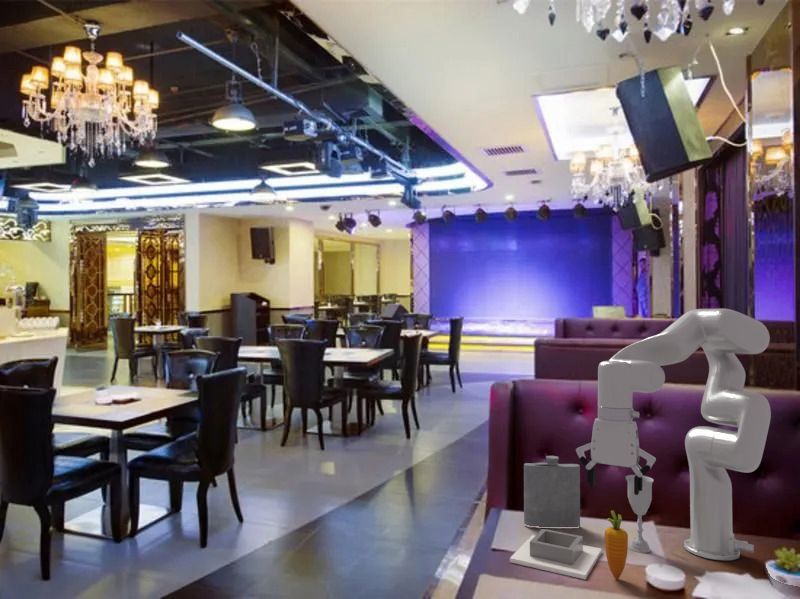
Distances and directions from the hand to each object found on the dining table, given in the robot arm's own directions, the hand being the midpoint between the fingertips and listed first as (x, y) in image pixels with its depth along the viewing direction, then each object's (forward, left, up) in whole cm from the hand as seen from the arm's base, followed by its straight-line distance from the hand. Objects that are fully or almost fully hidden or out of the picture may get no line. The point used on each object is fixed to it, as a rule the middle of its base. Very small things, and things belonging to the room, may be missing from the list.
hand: (614, 489), depth 130 cm
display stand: (+15, -5, -20) cm, 26 cm away
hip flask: (+22, -26, -20) cm, 40 cm away
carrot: (0, 0, -20) cm, 20 cm away
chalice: (-2, -22, -20) cm, 30 cm away
